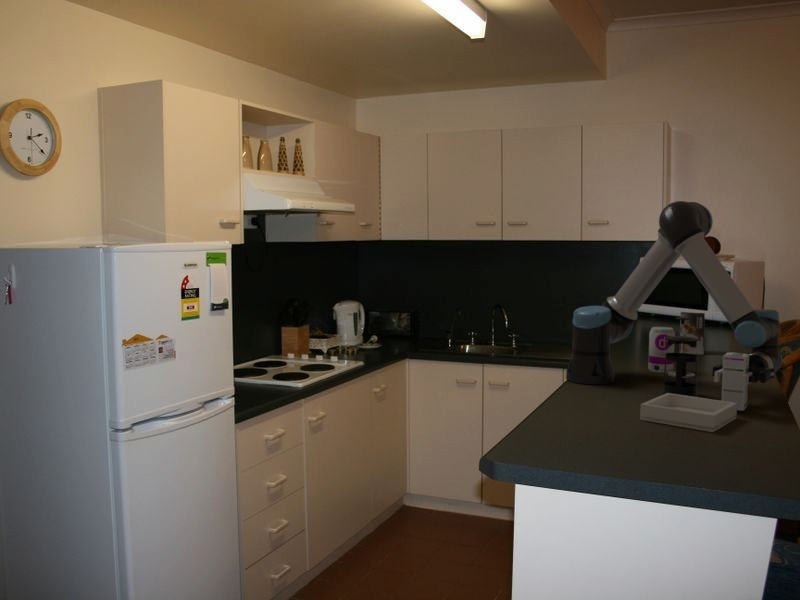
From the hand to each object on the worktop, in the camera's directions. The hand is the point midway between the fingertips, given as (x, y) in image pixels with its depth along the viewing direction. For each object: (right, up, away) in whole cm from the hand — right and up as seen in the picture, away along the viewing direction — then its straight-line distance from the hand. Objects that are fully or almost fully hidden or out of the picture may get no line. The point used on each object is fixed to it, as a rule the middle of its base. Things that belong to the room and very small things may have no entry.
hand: (729, 378), depth 196 cm
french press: (-4, -7, +24) cm, 25 cm away
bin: (-12, -10, -4) cm, 16 cm away
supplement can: (+3, -4, +62) cm, 62 cm away
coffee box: (+29, -1, +102) cm, 106 cm away
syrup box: (+3, -8, +5) cm, 10 cm away
